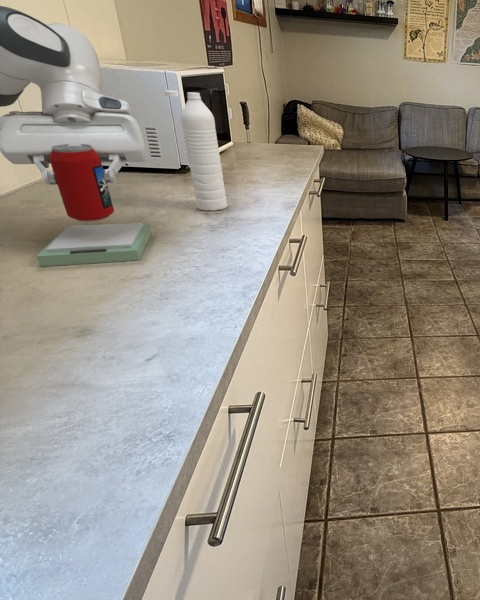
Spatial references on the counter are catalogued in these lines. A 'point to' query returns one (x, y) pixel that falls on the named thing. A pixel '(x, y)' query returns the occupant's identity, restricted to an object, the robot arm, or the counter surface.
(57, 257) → the kitchen scale
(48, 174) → the robot arm
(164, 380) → the counter surface
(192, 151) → the water bottle
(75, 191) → the beverage can
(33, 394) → the counter surface
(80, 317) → the counter surface
